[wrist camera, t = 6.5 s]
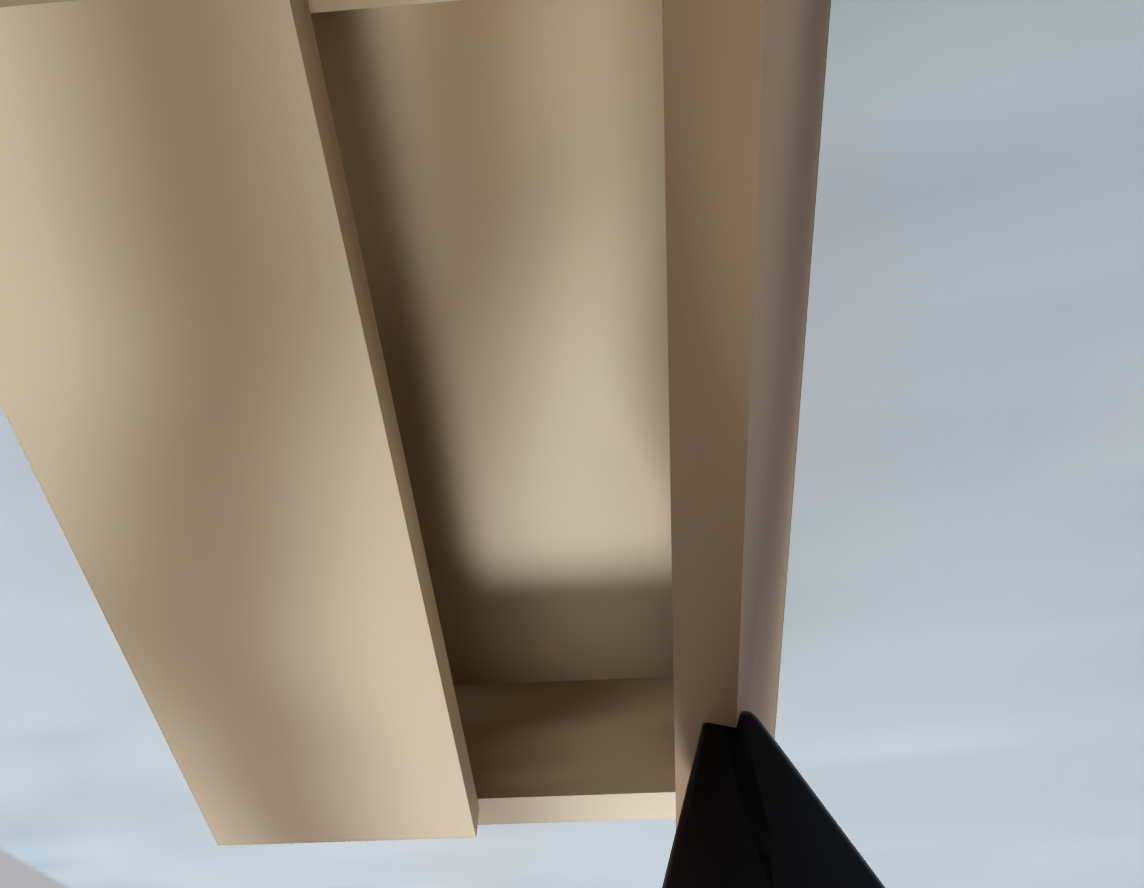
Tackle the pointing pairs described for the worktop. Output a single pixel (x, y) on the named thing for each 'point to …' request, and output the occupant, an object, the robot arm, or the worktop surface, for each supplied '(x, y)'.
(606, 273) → the plywood box
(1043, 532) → the worktop surface
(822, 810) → the robot arm
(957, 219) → the worktop surface
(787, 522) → the flap
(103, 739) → the worktop surface
